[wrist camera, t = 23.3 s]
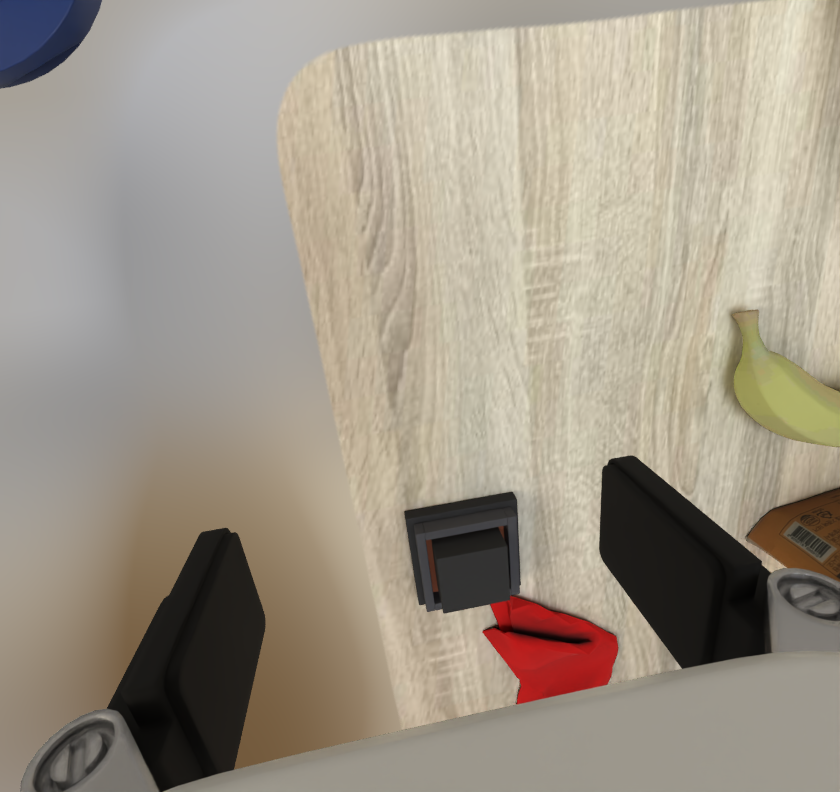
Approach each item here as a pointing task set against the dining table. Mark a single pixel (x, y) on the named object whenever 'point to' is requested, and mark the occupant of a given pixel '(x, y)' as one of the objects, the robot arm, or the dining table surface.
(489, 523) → the base pad
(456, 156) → the dining table surface
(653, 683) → the robot arm
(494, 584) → the black pad
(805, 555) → the pancake mix bag
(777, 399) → the banana
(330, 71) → the dining table surface
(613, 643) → the cloth
